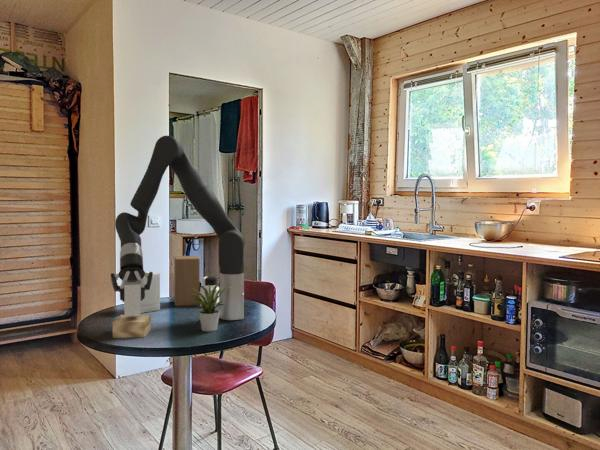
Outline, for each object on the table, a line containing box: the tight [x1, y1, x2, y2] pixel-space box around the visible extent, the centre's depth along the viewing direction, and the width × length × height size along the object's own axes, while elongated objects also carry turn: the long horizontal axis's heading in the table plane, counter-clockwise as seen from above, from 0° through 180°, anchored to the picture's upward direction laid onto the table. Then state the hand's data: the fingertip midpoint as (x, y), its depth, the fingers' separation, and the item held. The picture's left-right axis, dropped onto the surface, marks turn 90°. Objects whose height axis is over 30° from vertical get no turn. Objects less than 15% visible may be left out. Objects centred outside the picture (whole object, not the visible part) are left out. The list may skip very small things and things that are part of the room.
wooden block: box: [173, 255, 201, 307], centre depth 201 cm, size 10×10×20 cm
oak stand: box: [112, 313, 152, 339], centre depth 156 cm, size 10×10×5 cm
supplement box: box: [141, 270, 161, 314], centre depth 188 cm, size 9×9×15 cm
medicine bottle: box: [199, 275, 219, 307], centre depth 200 cm, size 7×7×12 cm
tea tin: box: [123, 280, 142, 316], centre depth 155 cm, size 5×5×11 cm
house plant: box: [192, 283, 229, 332], centre depth 162 cm, size 14×14×16 cm
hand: (132, 299), depth 154 cm, fingers closed on tea tin, 5 cm apart
